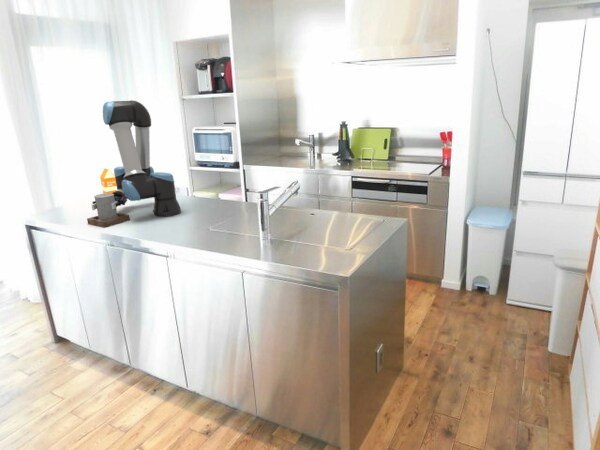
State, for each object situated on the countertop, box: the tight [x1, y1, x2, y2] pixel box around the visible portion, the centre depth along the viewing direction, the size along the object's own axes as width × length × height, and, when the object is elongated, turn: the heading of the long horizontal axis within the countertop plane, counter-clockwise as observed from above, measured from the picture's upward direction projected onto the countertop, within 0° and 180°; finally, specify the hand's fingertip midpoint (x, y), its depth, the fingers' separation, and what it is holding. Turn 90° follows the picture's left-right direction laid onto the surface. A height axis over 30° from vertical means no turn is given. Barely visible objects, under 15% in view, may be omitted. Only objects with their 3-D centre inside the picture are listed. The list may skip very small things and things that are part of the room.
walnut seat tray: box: [86, 212, 131, 229], centre depth 224 cm, size 15×15×3 cm
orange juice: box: [99, 167, 117, 194], centre depth 277 cm, size 8×9×20 cm
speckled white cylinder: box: [94, 193, 118, 220], centre depth 222 cm, size 10×10×12 cm
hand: (102, 207), depth 217 cm, fingers closed on speckled white cylinder, 9 cm apart
